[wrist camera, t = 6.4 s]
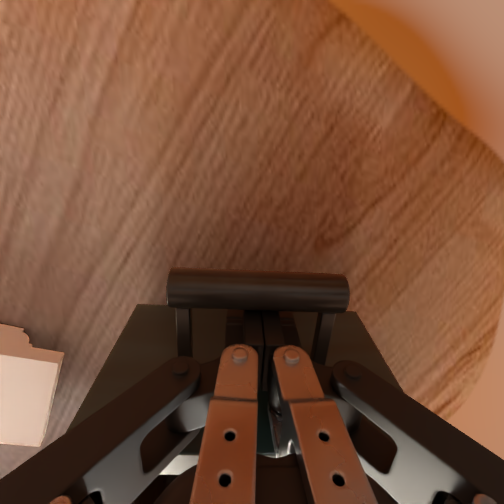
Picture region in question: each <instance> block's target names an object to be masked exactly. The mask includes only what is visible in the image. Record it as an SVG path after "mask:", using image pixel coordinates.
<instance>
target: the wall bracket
mask: <svg viewBox="0 0 504 504" xmlns="http://www.w3.org/2000/svg"><path fill="white" fill-rule="evenodd" d="M63 357H64V353H63V352H57V351H52V350H46V349H40V348H34V347H32V344H29V337H28V336H27V335H26V334H25V333H24V328H19V327H14V326H9V325H4V324H0V444H10V445H22V446H34V447H40V445H41V443H42V441H43V438H44V436H45V434H46V429H47V425H48V421H49V417H50V412H51V408H52V404H53V400H54V395H55V391H56V387H57V383H58V378H59V374H60V370H61V365H62V361H63Z"/></svg>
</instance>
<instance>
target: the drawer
mask: <svg viewBox="0 0 504 504" xmlns="http://www.w3.org/2000/svg"><path fill="white" fill-rule="evenodd" d="M349 296H350V292H349V284H348V280H347V278H346V276H345V275H343V274H329V273H305V272H281V271H257V270H233V269H209V268H185V267H172V268H171V269H170V271H169V274H168V278H167V286H166V299H167V304H168V305H151V304H137V306H136V308H135V309H134V311H133V313H132V315H131V317H130V318H129V320H128V322H127V324H126V326H125V327H124V329H123V331H122V333H121V335H120V336H119V338H118V340H117V342H116V343H115V345H114V347H113V349H112V351H111V352H110V354H109V356H108V358H107V360H106V361H105V363H104V365H103V367H102V369H101V370H100V372H99V374H98V376H97V378H96V379H95V381H94V383H93V385H92V386H91V388H90V390H89V392H88V394H87V395H86V397H85V399H84V401H83V403H82V404H81V406H80V408H79V410H78V412H77V413H76V415H75V417H74V419H73V421H72V422H71V424H70V426H69V428H68V430H67V431H66V433H67V432H68V431H69V430H71V429H72V428H74V427H75V426H77V425H78V424H79V423H81V422H82V421H84V420H85V419H86V418H88V417H89V416H91V415H92V414H93V413H95V412H96V411H98V410H99V409H101V408H102V407H103V406H105V405H106V404H108V403H109V402H110V401H112V400H113V399H115V398H116V397H117V396H119V395H120V394H122V393H123V392H125V391H126V390H127V389H129V388H130V387H132V386H133V385H134V384H136V383H137V382H139V381H140V380H141V379H143V378H144V377H146V376H147V375H148V374H150V373H151V372H153V371H154V370H156V369H157V368H158V367H160V366H161V365H163V364H164V363H165V362H167V361H168V360H170V359H172V358H175V357H179V356H188V357H192V358H194V359H196V360H197V361H198V362H199V364H204V363H208V362H211V361H213V360H215V359H217V358H218V357H219V356H220V355H221V354H222V352H223V350H224V343H225V330H226V316H227V309H230V310H259V311H288V312H293V316H294V320H295V323H296V327H297V331H298V335H299V339H300V342H301V346H302V349H303V350H304V351H306V352H307V354H308V355H309V357H310V359H311V360H312V361H314V362H316V363H318V364H321V365H324V366H328V367H332V368H333V366H334V364H335V363H336V362H338V361H341V360H351V361H355V362H358V363H360V364H361V365H363V366H365V367H366V368H368V369H369V370H370V371H372V372H373V373H375V374H376V375H378V376H379V377H381V378H382V379H384V380H385V381H387V382H388V383H390V384H391V385H393V386H394V387H396V388H397V389H399V390H400V391H402V392H403V390H402V389H401V387H400V385H399V383H398V382H397V380H396V378H395V377H394V375H393V373H392V372H391V370H390V368H389V367H388V365H387V363H386V362H385V360H384V358H383V357H382V355H381V353H380V352H379V350H378V348H377V346H376V345H375V343H374V341H373V340H372V338H371V336H370V335H369V333H368V331H367V330H366V328H365V326H364V325H363V323H362V321H361V320H360V318H359V316H358V315H357V313H356V312H354V311H346V310H347V307H348V304H349ZM403 393H404V392H403ZM257 400H258V412H257V447H256V454H260V455H264V456H267V457H271V458H276V456H275V450H274V444H273V439H272V433H271V427H270V421H269V416H268V409H267V407H268V391H261V383H260V391H257ZM363 418H364V419H365V420H366V421H368V422H369V423H370V424H371V425H373V426H374V427H375V428H376V429H378V430H379V431H380V432H381V433H383V434H384V435H385V436H386V437H388V438H389V439H390V440H391V441H393V442H394V443H395V441H394V440H393V439H392V437H391V436H390V435H388V434H387V433H386V432H385V431H383V430H382V429H381V428H380V427H378V426H377V425H376V424H375V423H373V422H372V421H371V420H370V419H368V418H367V417H366V416H365V415H363ZM204 428H205V427H202V428H201V429H200V431H199V433H198V434H197V436H196V437H195V438H194V439H193V440H192V441H191V442H190V443H189V444H188V445H187V446H186V447H185V448H184V449H183V450H182V451H181V452H180V453H179V454H178V455H177V456H176V457H175V458H174V460H173V461H172V462H171V463H170V464H169V465H168V466H167V467H166V468H165V469H164V470H163V471H162V472H161V473H160V474H159V475H158V476H157V477H156V478H155V479H154V480H153V481H152V482H151V483H150V484H149V485H148V486H147V488H146V489H145V490H144V491H143V492H142V493H141V494H140V495H139V496H138V497H137V498H136V499H135V500H134V501H133V502H132V503H131V504H153V503H154V502H155V500H156V499H157V498H158V497H159V496H160V495H161V493H162V492H163V491H164V490H165V489H166V488H167V486H168V485H169V484H170V483H171V482H172V481H173V480H174V479H175V478H177V477H178V476H179V475H180V474H182V473H183V472H184V471H186V470H187V469H189V468H191V467H193V466H194V465H197V463H198V458H199V453H200V448H201V443H202V438H203V433H204ZM395 444H396V443H395Z"/></svg>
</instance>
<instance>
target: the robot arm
mask: <svg viewBox="0 0 504 504" xmlns="http://www.w3.org/2000/svg"><path fill="white" fill-rule="evenodd" d="M260 383H261V391H268V407H267V409H268V416H269V421H270V427H271V433H272V439H273V444H274V450H275V456H276V458H271V457H267V456H264V455H260V454H256V447H257V412H258V400H257V391H260ZM363 415H365V416H366V417H367V418H368V419H370V420H371V421H372V422H373V423H375V424H376V425H377V426H378V427H380V428H381V429H382V430H383V431H385V432H386V433H387V434H388V435H390V436H391V437H392V439H393V440H394V441H395V443H396V444H395V443H394V442H393V441H391V440H390V439H389V438H388V437H386V436H385V435H384V434H383V433H381V432H380V431H379V430H378V429H376V428H375V427H374V426H373V425H371V424H370V423H369V422H368V421H366V420H365V419H364V418H363ZM202 427H205V428H204V433H203V438H202V443H201V448H200V453H199V458H198V463H197V465H194V466H193V467H191V468H189V469H187V470H186V471H184V472H183V473H182V474H180V475H179V476H178V477H177V478H175V479H174V480H173V481H172V482H171V483H170V484H169V485H168V486H167V488H166V489H165V490H164V491H163V492H162V493H161V495H160V496H159V497H158V498H157V499H156V500H155V502H154V503H153V504H504V460H503V459H501V458H500V457H498V456H497V455H495V454H494V453H492V452H491V451H489V450H488V449H486V448H485V447H483V446H482V445H480V444H479V443H478V442H476V441H475V440H473V439H472V438H470V437H469V436H467V435H465V434H464V433H463V432H461V431H459V430H458V429H457V428H455V427H454V426H452V425H451V424H449V423H448V422H446V421H445V420H443V419H442V418H440V417H439V416H437V415H436V414H434V413H433V412H431V411H430V410H428V409H427V408H426V407H424V406H423V405H421V404H420V403H418V402H417V401H415V400H414V399H412V398H411V397H409V396H408V395H406V394H405V393H403V392H402V391H400V390H399V389H397V388H396V387H394V386H393V385H391V384H390V383H388V382H387V381H385V380H384V379H382V378H381V377H379V376H378V375H376V374H375V373H373V372H372V371H370V370H369V369H368V368H366V367H365V366H363V365H361V364H360V363H358V362H355V361H351V360H341V361H338V362H336V363H335V364H334V366H333V368H332V367H328V366H324V365H321V364H318V363H316V362H314V361H312V360H311V359H310V357H309V355H308V354H307V352H306V351H304V350H303V349H302V346H301V342H300V339H299V335H298V331H297V327H296V323H295V320H294V316H293V312H288V311H259V310H230V309H227V316H226V330H225V343H224V350H223V352H222V354H221V355H220V356H219V357H218V358H217V359H215V360H213V361H211V362H208V363H204V364H199V362H198V361H197V360H196V359H194V358H192V357H188V356H179V357H175V358H172V359H170V360H168V361H167V362H165V363H164V364H163V365H161V366H160V367H158V368H157V369H156V370H154V371H153V372H151V373H150V374H148V375H147V376H146V377H144V378H143V379H141V380H140V381H139V382H137V383H136V384H134V385H133V386H132V387H130V388H129V389H127V390H126V391H125V392H123V393H122V394H120V395H119V396H117V397H116V398H115V399H113V400H112V401H110V402H109V403H108V404H106V405H105V406H103V407H102V408H101V409H99V410H98V411H96V412H95V413H93V414H92V415H91V416H89V417H88V418H86V419H85V420H84V421H82V422H81V423H79V424H78V425H77V426H75V427H74V428H72V429H71V430H69V431H68V432H67V433H65V434H64V435H62V436H61V437H60V438H58V439H57V440H55V441H54V442H53V443H51V444H50V445H48V446H47V447H46V448H44V449H43V450H41V451H40V452H38V453H37V454H36V455H34V456H33V457H31V458H30V459H29V460H27V461H26V462H24V463H23V464H22V465H20V466H19V467H17V468H16V469H14V470H13V471H12V472H10V473H9V474H7V475H6V476H5V477H3V478H2V479H0V504H131V503H132V502H133V501H134V500H135V499H136V498H137V497H138V496H139V495H140V494H141V493H142V492H143V491H144V490H145V489H146V488H147V486H148V485H149V484H150V483H151V482H152V481H153V480H154V479H155V478H156V477H157V476H158V475H159V474H160V473H161V472H162V471H163V470H164V469H165V468H166V467H167V466H168V465H169V464H170V463H171V462H172V461H173V460H174V458H175V457H176V456H177V455H178V454H179V453H180V452H181V451H182V450H183V449H184V448H185V447H186V446H187V445H188V444H189V443H190V442H191V441H192V440H193V439H194V438H195V437H196V436H197V434H198V433H199V431H200V429H201V428H202Z"/></svg>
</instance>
